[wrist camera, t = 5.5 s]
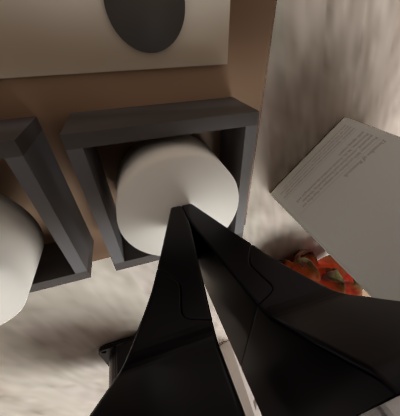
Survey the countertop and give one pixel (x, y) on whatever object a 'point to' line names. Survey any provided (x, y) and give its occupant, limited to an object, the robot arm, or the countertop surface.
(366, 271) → the supplement box
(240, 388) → the grater
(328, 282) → the dragon fruit
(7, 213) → the button middle
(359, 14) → the countertop surface
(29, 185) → the button board
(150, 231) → the button
